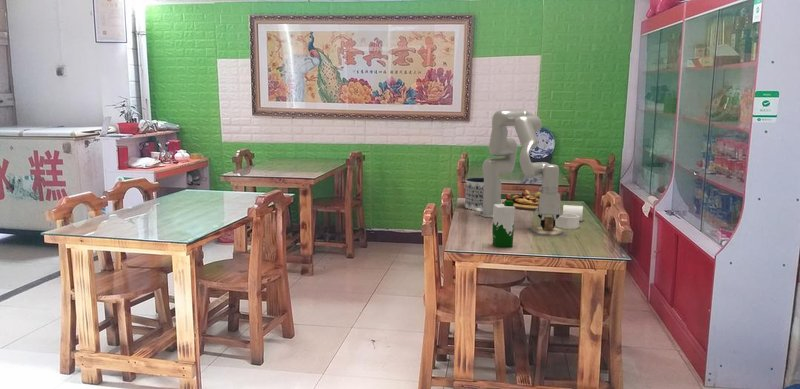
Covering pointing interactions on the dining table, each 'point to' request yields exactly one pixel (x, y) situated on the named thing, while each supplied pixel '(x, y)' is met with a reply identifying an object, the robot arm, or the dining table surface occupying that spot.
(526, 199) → the wooden plate with food
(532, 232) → the mat
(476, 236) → the dining table surface
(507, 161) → the robot arm
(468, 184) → the planter
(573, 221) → the bowl
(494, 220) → the milk carton
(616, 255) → the dining table surface
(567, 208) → the mug
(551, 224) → the lid
